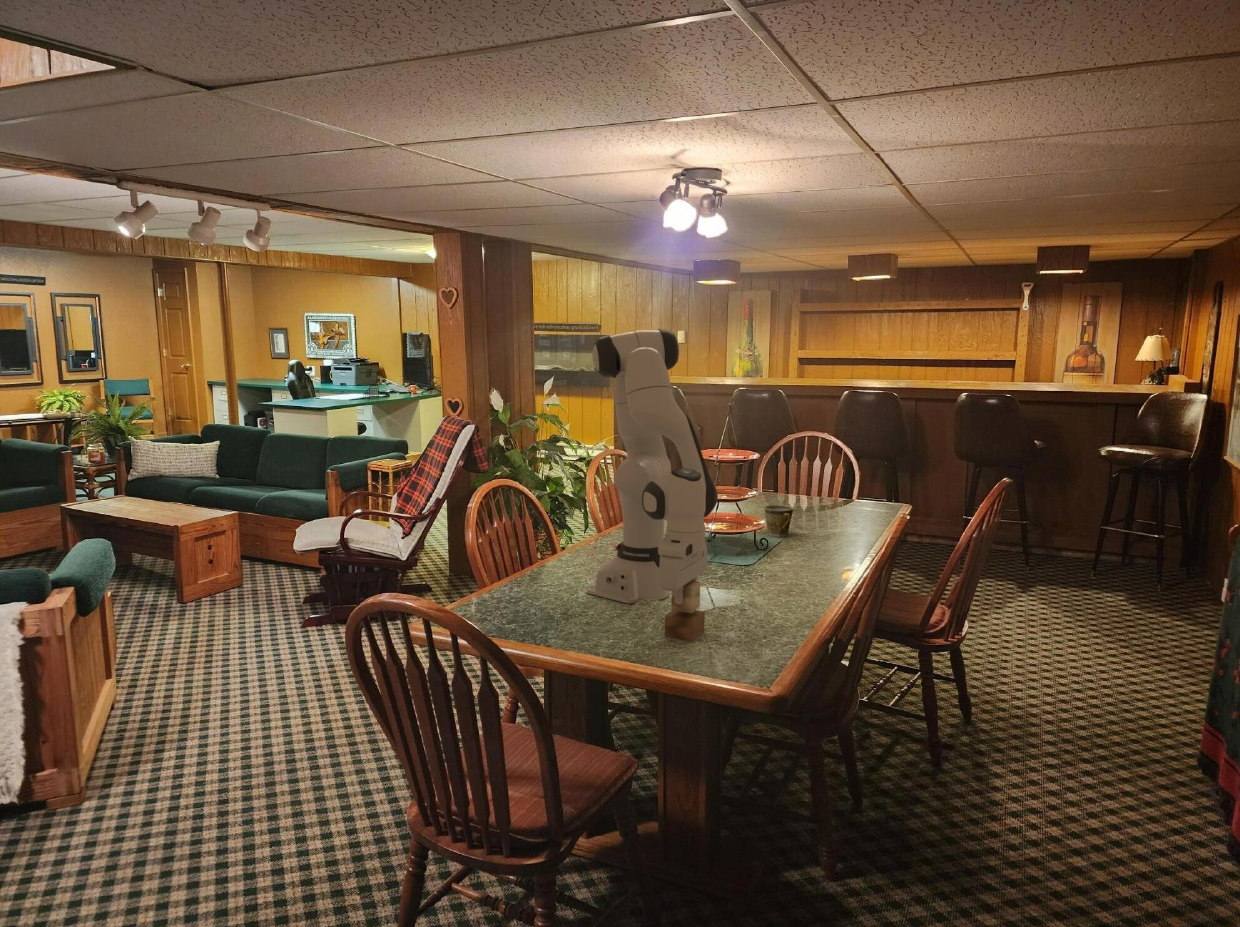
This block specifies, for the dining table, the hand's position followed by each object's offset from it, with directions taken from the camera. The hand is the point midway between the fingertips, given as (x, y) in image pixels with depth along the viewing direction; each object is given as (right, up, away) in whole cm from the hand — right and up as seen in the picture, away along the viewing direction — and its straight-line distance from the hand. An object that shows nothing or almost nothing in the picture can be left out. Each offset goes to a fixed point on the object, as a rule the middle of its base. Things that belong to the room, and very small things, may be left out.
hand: (684, 599), depth 185 cm
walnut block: (0, -8, +1) cm, 8 cm away
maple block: (0, -2, 0) cm, 2 cm away
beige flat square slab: (0, -10, +1) cm, 10 cm away
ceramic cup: (+42, +5, +100) cm, 109 cm away
